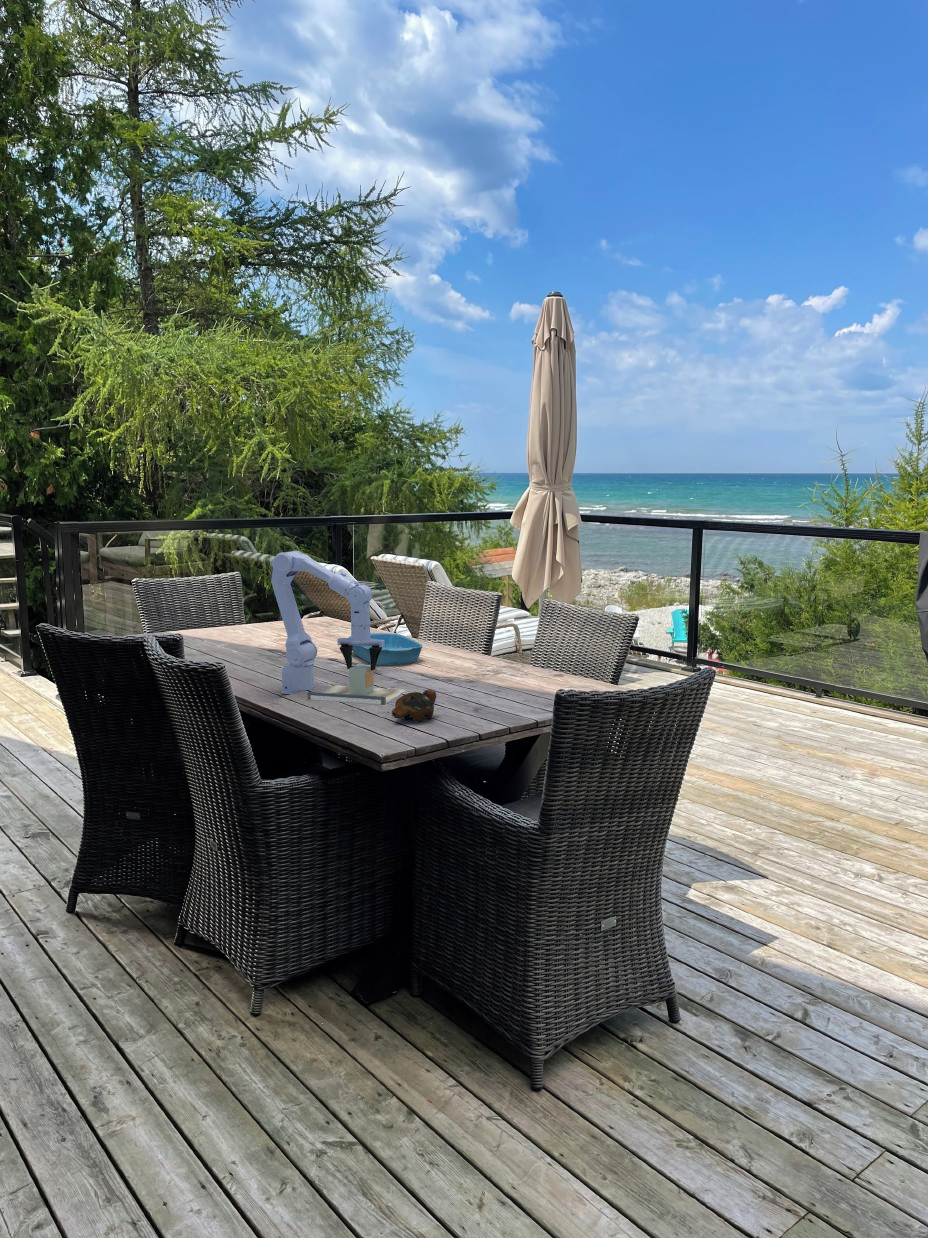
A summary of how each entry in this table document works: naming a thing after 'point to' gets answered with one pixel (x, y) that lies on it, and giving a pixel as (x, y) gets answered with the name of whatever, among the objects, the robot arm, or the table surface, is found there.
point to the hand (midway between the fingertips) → (361, 669)
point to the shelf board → (382, 692)
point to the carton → (360, 679)
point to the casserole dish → (391, 650)
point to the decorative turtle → (415, 705)
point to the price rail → (347, 698)
